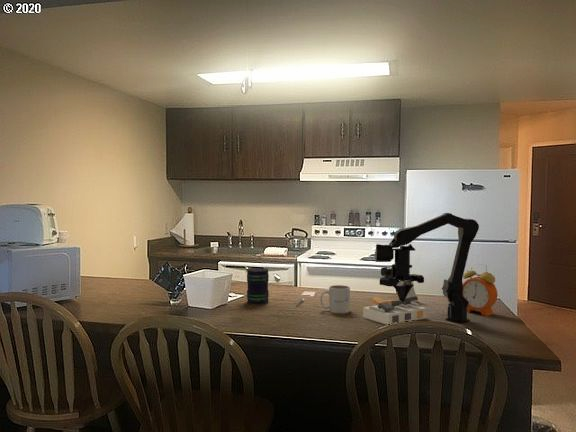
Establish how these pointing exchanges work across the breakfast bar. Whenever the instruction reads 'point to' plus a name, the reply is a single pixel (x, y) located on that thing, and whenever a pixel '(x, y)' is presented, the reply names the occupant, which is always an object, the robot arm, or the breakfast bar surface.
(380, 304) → the block
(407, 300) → the rocker
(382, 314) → the switch box
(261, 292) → the storage jar
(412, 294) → the flask
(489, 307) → the alarm clock
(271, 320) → the breakfast bar surface
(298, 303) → the spatula
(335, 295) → the mug
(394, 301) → the block
